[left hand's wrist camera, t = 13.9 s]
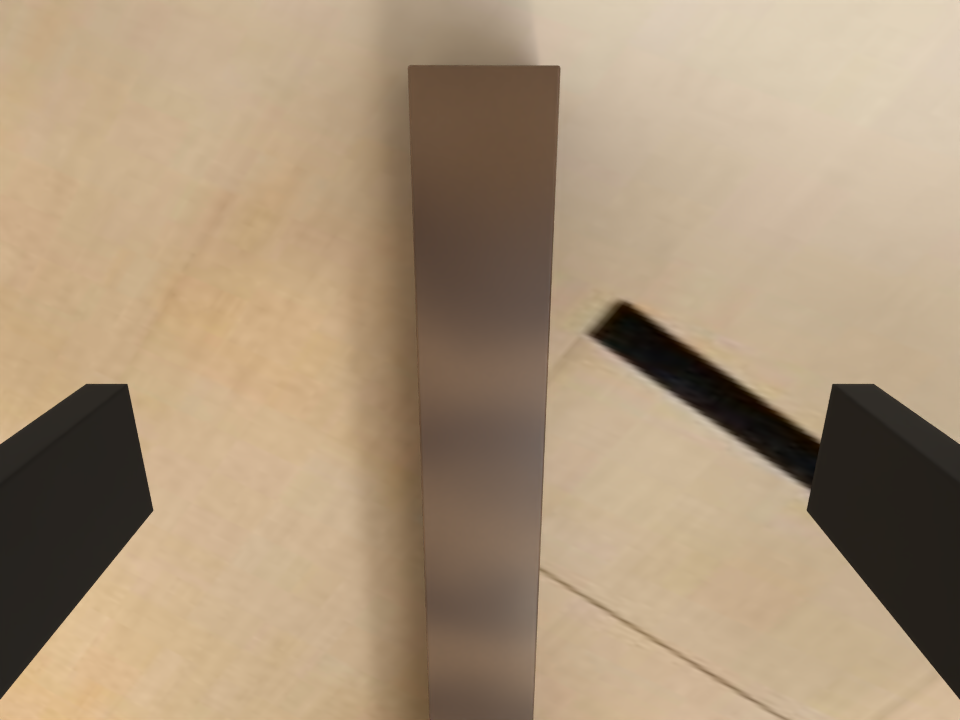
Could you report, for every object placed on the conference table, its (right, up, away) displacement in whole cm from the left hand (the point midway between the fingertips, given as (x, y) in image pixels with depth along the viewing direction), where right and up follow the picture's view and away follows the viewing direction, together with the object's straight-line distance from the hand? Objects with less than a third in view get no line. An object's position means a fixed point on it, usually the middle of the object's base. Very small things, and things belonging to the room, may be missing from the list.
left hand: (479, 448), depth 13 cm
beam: (0, -23, +31) cm, 38 cm away
